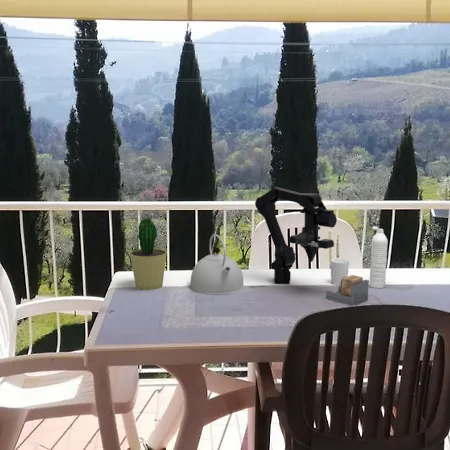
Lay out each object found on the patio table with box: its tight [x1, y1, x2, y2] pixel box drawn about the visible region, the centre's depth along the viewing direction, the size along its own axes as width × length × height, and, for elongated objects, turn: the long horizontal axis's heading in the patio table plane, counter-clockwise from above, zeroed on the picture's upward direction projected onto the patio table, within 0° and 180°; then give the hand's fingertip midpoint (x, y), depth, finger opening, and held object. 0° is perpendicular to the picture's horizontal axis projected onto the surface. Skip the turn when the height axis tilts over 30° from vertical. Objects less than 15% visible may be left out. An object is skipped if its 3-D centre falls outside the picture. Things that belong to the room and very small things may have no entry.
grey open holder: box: [325, 279, 370, 306], centre depth 218 cm, size 13×10×8 cm
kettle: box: [190, 233, 245, 296], centre depth 232 cm, size 25×23×23 cm
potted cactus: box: [129, 217, 168, 291], centre depth 232 cm, size 15×15×30 cm
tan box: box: [339, 274, 364, 296], centre depth 217 cm, size 6×7×8 cm
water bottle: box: [369, 226, 389, 289], centre depth 234 cm, size 9×6×25 cm
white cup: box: [330, 257, 350, 286], centre depth 240 cm, size 8×8×10 cm
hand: (310, 261), depth 229 cm, fingers closed
